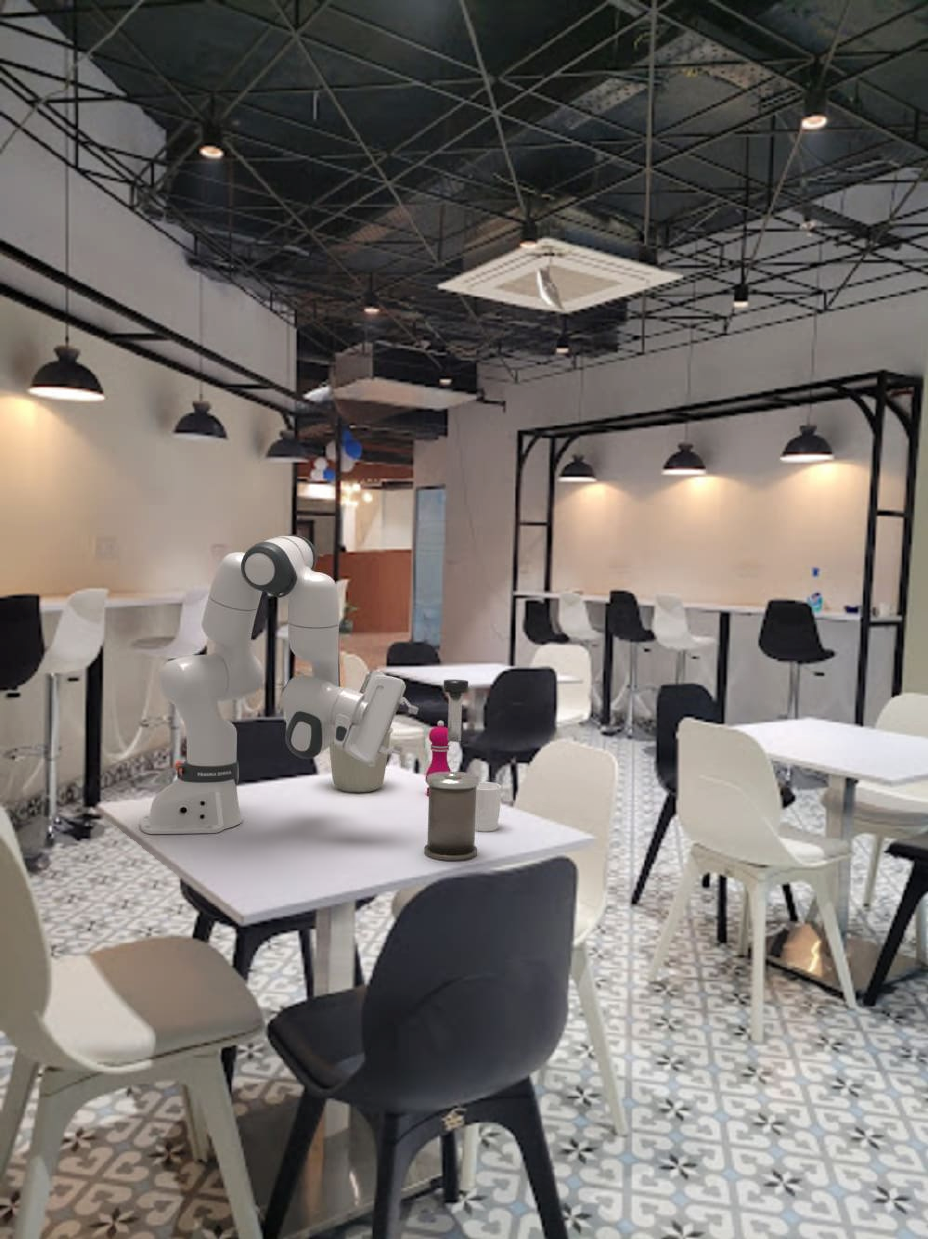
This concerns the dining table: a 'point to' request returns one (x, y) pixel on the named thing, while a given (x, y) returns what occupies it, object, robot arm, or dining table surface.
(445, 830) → the grey thread spool
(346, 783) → the canister
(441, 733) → the pepper mill
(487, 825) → the white cup
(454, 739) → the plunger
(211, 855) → the dining table surface
